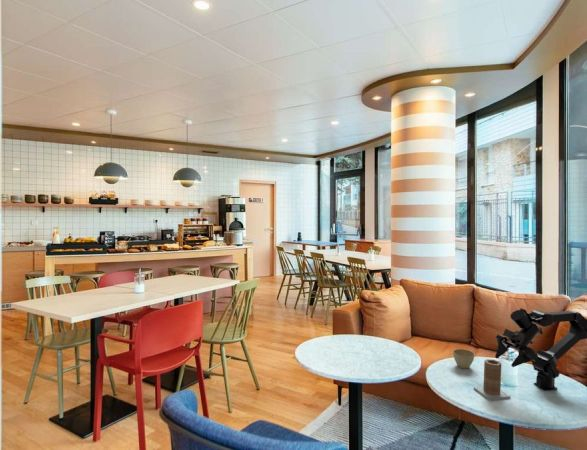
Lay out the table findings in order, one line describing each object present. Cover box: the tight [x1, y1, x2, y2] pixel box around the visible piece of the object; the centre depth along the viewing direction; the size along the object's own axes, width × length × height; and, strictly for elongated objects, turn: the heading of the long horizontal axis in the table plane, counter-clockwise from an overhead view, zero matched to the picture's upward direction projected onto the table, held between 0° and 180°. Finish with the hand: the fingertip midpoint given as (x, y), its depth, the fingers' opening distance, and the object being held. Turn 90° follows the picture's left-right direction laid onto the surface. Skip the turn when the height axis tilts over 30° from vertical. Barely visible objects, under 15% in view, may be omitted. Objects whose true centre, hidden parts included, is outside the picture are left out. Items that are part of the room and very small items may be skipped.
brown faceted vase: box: [483, 358, 502, 395], centre depth 168 cm, size 6×6×13 cm
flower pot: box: [452, 348, 476, 370], centre depth 195 cm, size 10×10×7 cm
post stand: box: [473, 385, 511, 401], centre depth 168 cm, size 10×10×5 cm
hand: (503, 361), depth 168 cm, fingers open, 9 cm apart
